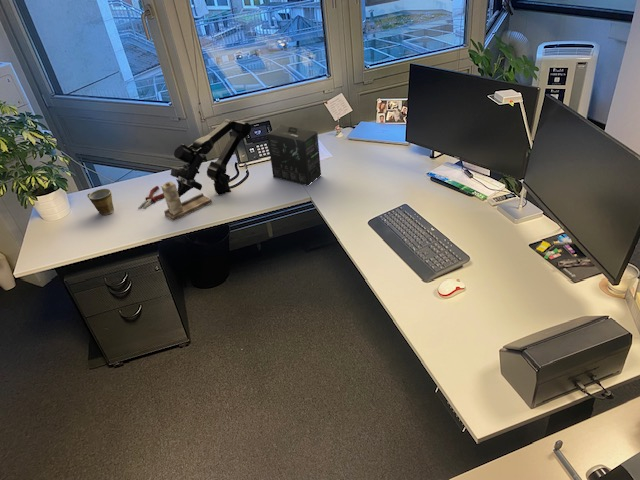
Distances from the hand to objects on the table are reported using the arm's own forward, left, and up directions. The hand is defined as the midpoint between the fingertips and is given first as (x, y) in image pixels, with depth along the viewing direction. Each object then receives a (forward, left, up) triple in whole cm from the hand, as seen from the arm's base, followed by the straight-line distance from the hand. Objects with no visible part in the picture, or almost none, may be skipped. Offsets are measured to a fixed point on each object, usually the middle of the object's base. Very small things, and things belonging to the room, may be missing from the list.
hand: (178, 196), depth 212 cm
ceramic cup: (+34, -22, -8) cm, 42 cm away
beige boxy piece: (+3, +1, -6) cm, 7 cm away
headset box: (-59, -2, -8) cm, 60 cm away
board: (-3, -2, -8) cm, 9 cm away
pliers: (+11, -23, -9) cm, 27 cm away
